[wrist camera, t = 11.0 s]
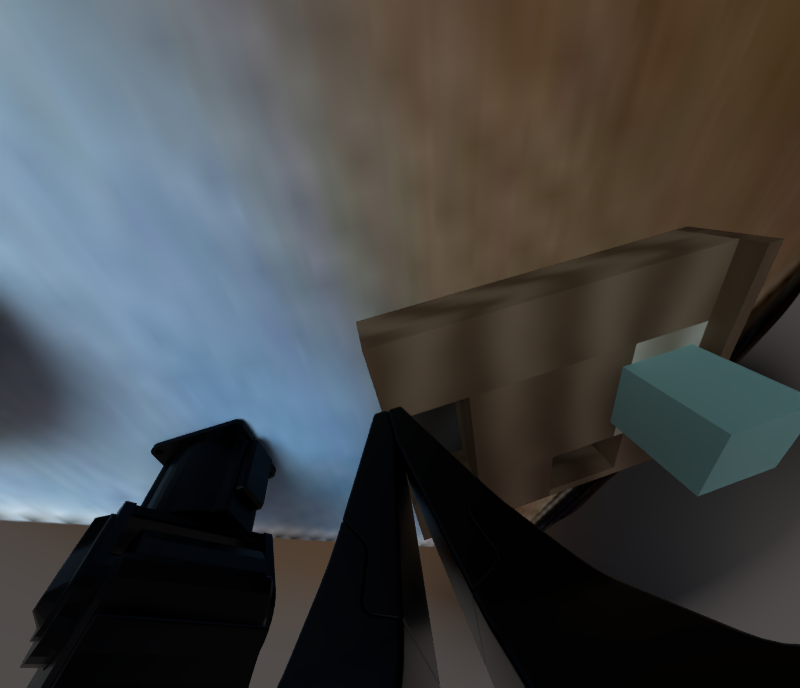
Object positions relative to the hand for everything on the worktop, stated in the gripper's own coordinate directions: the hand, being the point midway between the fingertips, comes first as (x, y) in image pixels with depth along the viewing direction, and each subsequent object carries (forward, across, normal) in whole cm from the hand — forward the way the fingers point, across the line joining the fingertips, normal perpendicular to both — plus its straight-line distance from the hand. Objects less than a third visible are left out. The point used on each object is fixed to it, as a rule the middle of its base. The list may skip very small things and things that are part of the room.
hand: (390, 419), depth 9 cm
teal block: (+8, -21, +13) cm, 26 cm away
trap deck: (+12, -12, +13) cm, 22 cm away
